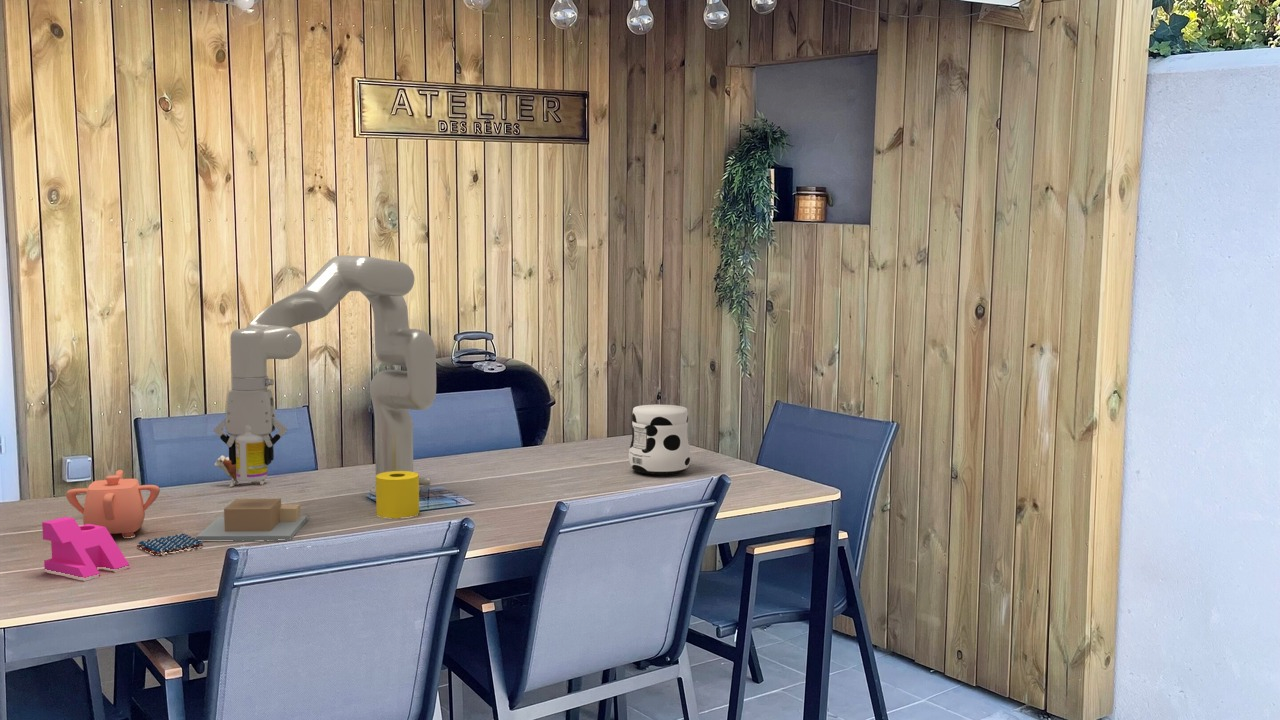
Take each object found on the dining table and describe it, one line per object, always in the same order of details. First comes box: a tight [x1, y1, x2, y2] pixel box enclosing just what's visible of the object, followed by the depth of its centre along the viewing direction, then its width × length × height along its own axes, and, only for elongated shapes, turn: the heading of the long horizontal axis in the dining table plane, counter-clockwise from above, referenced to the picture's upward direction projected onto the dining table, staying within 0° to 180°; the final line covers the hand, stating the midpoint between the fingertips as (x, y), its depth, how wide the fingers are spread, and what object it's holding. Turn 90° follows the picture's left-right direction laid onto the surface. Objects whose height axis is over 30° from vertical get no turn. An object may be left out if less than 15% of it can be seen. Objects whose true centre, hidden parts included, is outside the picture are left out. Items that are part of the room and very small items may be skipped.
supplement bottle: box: [235, 425, 268, 483], centre depth 270 cm, size 7×7×13 cm
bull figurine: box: [213, 455, 269, 488], centre depth 318 cm, size 4×13×8 cm, turn 108°
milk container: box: [628, 403, 692, 476], centre depth 338 cm, size 17×17×18 cm
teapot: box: [65, 469, 161, 537], centre depth 268 cm, size 17×16×13 cm
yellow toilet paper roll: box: [375, 471, 420, 518], centre depth 288 cm, size 10×10×9 cm
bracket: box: [41, 516, 130, 578], centre depth 240 cm, size 12×10×10 cm
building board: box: [195, 498, 309, 542], centre depth 272 cm, size 20×18×6 cm
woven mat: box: [136, 533, 204, 556], centre depth 257 cm, size 10×11×2 cm
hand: (251, 463), depth 270 cm, fingers closed on supplement bottle, 6 cm apart
